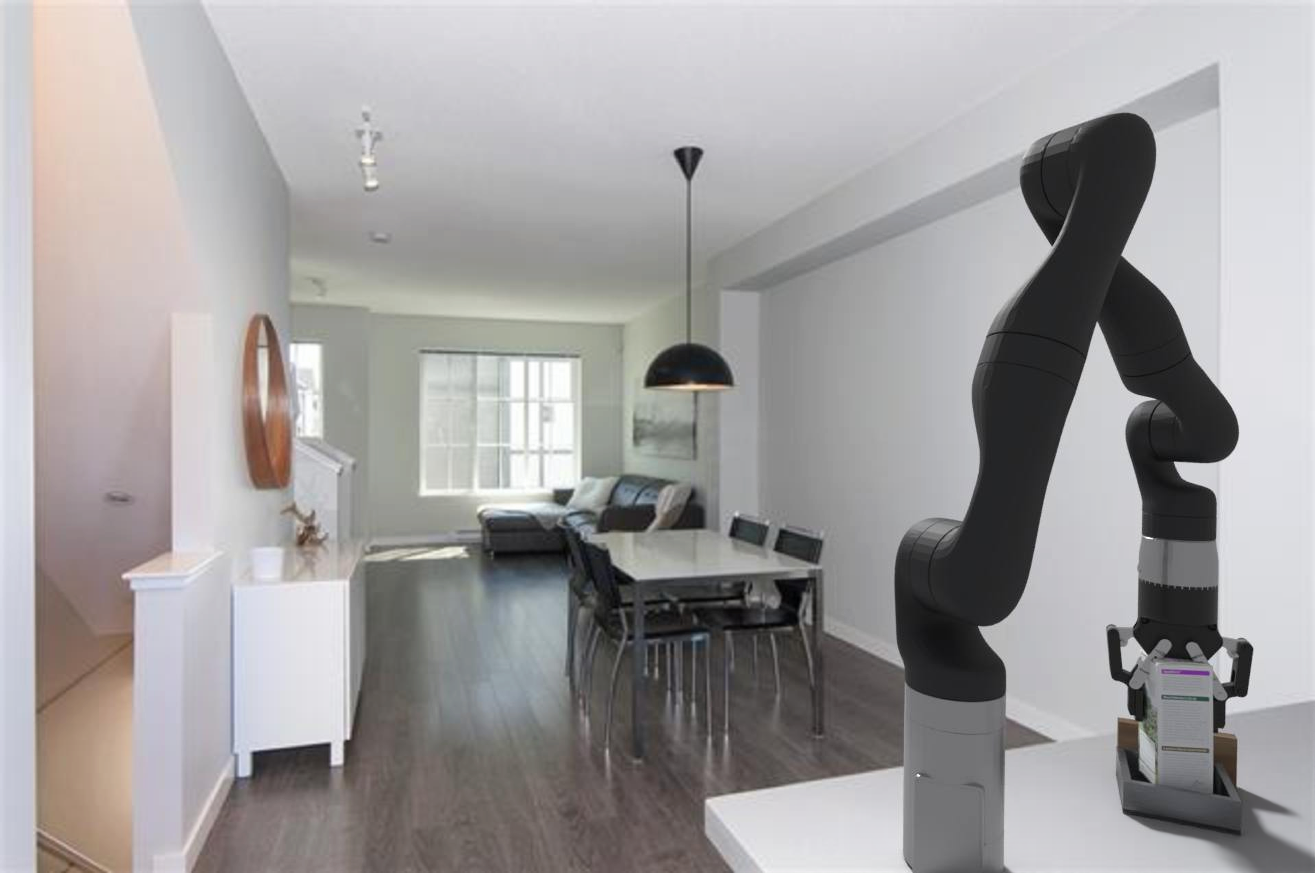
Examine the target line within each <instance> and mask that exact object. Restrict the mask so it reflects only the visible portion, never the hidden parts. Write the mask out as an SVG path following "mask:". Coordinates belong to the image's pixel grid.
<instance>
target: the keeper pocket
mask: <svg viewBox="0 0 1315 873" xmlns="http://www.w3.org/2000/svg"><path fill="white" fill-rule="evenodd" d="M1115 749H1116V750H1115V752H1116V753H1115V756H1116V757H1115V758H1116V759H1115V776H1116V777H1115V778H1116V782H1117V787H1118V788H1117V789H1118V793H1119V798H1120V804H1121V810H1122V813H1123V814H1128V815H1132V816H1137V817H1143V818H1149V819H1154V820H1158V821H1164V822H1168V823H1175V824H1179V825H1185V826H1190V827H1195V828H1199V829H1206V830H1211V831H1216V832H1221V833H1226V834H1231V835H1236V836H1242V801H1241V799H1240V796H1239V795H1238V792H1237V789H1236V790H1235V788H1234V786H1233V784H1232V782H1231V780H1230V778H1229V776H1228V774H1227V772H1226V770H1225V768H1224V766H1223V764H1222V763H1220V762H1213V794H1209V793H1203V792H1198V791H1192V790H1186V789H1181V788H1175V787H1169V786H1164V785H1158V784H1152V783H1150V782H1149V781H1148V780H1147V779H1146V777H1145V776H1144V775H1143V774H1142V773H1141V772H1140V771H1139V749H1133V748H1127V747H1121V746H1117V745H1116V747H1115Z"/></svg>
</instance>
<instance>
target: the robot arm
mask: <svg viewBox="0 0 1315 873" xmlns="http://www.w3.org/2000/svg"><path fill="white" fill-rule="evenodd" d="M1156 162H1157V144H1156V139H1155V135H1154V132H1153V130H1152V128H1151V126H1150V124H1149V123H1148V122H1147V120H1146V119H1144V117H1141V116H1140V115H1139V114H1136V113H1131V112H1117V113H1111V114H1106V115H1103V116H1100V117H1099V116H1098V117H1096V118H1093V119H1090V120H1087V121H1083V122H1081V123H1078V124H1075V125H1073V126H1069V127H1066V128H1064V129H1061V130H1057V131H1055V132H1052V133H1050V134H1047V135H1045V136H1042V137H1040V138H1039V139H1037V140H1035V141H1034V142H1032V144H1031V145H1030V146H1029V147H1028V148H1027V149H1026V151H1025V153H1024V154H1023V158H1022V159H1021V163H1020V166H1019V186H1020V189H1021V190H1020V191H1021V193H1022V196H1023V199H1024V201H1025V204H1026V206H1027V208H1028V210H1029V212H1030V214H1031V216H1032V217H1033V219H1034V220H1035V223H1036V224H1037V226H1038V227H1039V229H1040V230H1041V232H1042V233H1043V235H1044V236H1045V238H1046V240H1047V241H1048V243H1049V244H1050V246H1051V248H1050V249H1049V250H1048V252H1047V254H1046V255H1045V256H1044V257H1043V258H1042V260H1040V261H1039V264H1038V265H1037V266H1035V268H1034V269H1033V270H1032V272H1031V273H1030V274H1029V275H1028V276H1027V277H1026V278H1025V280H1023V282H1022V283H1021V284H1020V285H1019V286H1018V287H1017V289H1016V290H1015V291H1014V292H1013V293H1012V294H1011V296H1010V297H1009V298H1008V299H1007V300H1006V302H1005V303H1004V304H1003V306H1002V307H1001V308H1000V310H999V311H998V312H997V314H996V315H995V317H994V319H993V321H992V323H991V324H990V327H989V329H988V331H987V334H986V336H985V340H984V343H983V346H982V348H981V352H980V355H979V358H978V361H977V364H976V368H975V371H974V374H973V378H972V384H971V406H972V413H973V419H974V426H975V429H976V430H975V431H976V437H977V442H978V448H979V466H978V473H977V478H976V481H975V486H974V489H973V492H972V495H971V499H970V502H969V506H968V508H967V510H966V513H965V515H964V518H963V520H957V519H953V518H945V517H929V518H925V519H922V520H919V521H918V522H916V523H915V524H913V525H911V527H910V528H909V529H908V530H907V531H906V532H905V534H904V535H903V537H902V538H901V541H900V543H899V545H898V548H897V552H896V556H895V563H894V577H893V579H894V581H893V582H894V585H893V586H894V608H895V609H894V612H895V613H894V615H895V617H894V618H895V634H896V635H895V636H896V645H897V649H898V652H899V655H900V658H901V660H902V663H903V666H904V709H903V710H904V712H903V786H902V787H903V789H902V790H903V792H902V793H903V796H902V798H903V800H902V802H903V803H902V805H903V806H902V807H903V808H902V855H903V858H904V859H905V862H907V864H908V865H909V866H910V867H911V868H912V869H911V872H912V873H1004V869H1005V868H1004V867H1005V865H1004V864H1005V862H1004V861H1005V858H1004V857H1005V792H1006V791H1005V789H1006V788H1005V786H1006V784H1005V782H1006V776H1005V775H1006V724H1007V719H1006V718H1007V715H1006V714H1007V670H1006V665H1005V662H1004V661H1003V660H1002V658H1001V657H1000V656H999V655H998V654H997V653H996V651H994V650H993V648H992V647H991V646H990V644H988V642H987V641H986V639H985V638H984V636H983V634H982V632H981V630H980V627H981V628H982V627H985V628H986V627H992V626H995V625H997V624H999V623H1002V621H1004V620H1005V619H1006V618H1008V617H1009V616H1010V615H1011V614H1012V613H1013V611H1014V610H1015V609H1016V608H1017V606H1018V605H1019V602H1020V601H1021V598H1022V597H1023V594H1024V593H1025V589H1026V588H1027V583H1028V580H1029V576H1030V572H1031V569H1032V563H1033V559H1034V554H1035V550H1036V549H1035V548H1036V543H1037V539H1038V535H1039V534H1038V533H1039V529H1040V522H1041V517H1042V512H1043V508H1044V501H1045V498H1046V494H1047V489H1048V485H1049V481H1050V477H1051V474H1052V471H1053V466H1054V464H1055V460H1056V456H1057V453H1058V449H1059V445H1060V442H1061V438H1062V435H1063V431H1064V428H1065V425H1066V421H1067V419H1068V416H1069V412H1070V409H1071V407H1072V404H1073V401H1074V398H1075V396H1076V393H1077V390H1078V387H1079V383H1080V380H1081V377H1082V374H1083V372H1084V368H1085V364H1086V361H1087V359H1088V354H1089V350H1090V346H1091V343H1092V339H1093V335H1094V332H1095V329H1096V327H1097V324H1098V326H1099V328H1100V331H1101V333H1102V335H1103V338H1104V340H1105V342H1106V345H1107V349H1108V350H1109V353H1110V356H1111V358H1112V361H1113V363H1114V366H1115V368H1116V370H1117V373H1118V376H1119V378H1120V380H1121V383H1122V384H1123V386H1124V387H1125V389H1126V390H1127V391H1129V392H1130V393H1131V394H1133V395H1137V396H1141V397H1145V398H1146V397H1147V398H1150V399H1152V400H1146V401H1143V402H1140V403H1139V404H1138V405H1137V406H1135V407H1134V408H1133V410H1132V411H1131V412H1130V414H1129V416H1128V418H1127V421H1126V425H1125V432H1124V435H1125V443H1126V446H1127V448H1126V449H1127V451H1128V455H1129V458H1130V462H1131V464H1132V465H1131V466H1132V467H1133V472H1134V474H1135V479H1136V481H1137V482H1136V483H1137V486H1138V491H1139V492H1140V497H1141V540H1140V544H1139V550H1138V563H1137V566H1136V567H1137V573H1138V576H1137V577H1138V578H1137V580H1138V581H1137V582H1138V583H1137V586H1138V587H1137V618H1136V621H1135V623H1134V625H1133V626H1132V627H1131V626H1129V627H1127V626H1125V627H1124V626H1123V627H1121V626H1117V625H1115V624H1113V623H1111V624H1108V625H1107V626H1106V628H1105V631H1106V641H1107V642H1106V643H1107V653H1108V663H1109V664H1108V666H1109V671H1110V672H1109V673H1110V677H1111V679H1112V680H1113V681H1116V682H1120V683H1122V684H1124V685H1126V687H1127V697H1126V698H1127V699H1126V702H1127V703H1126V705H1127V706H1126V708H1127V710H1128V713H1129V715H1130V716H1133V719H1134V720H1135V721H1138V722H1142V721H1143V689H1142V685H1143V683H1144V682H1145V680H1146V679H1147V678H1148V675H1149V674H1150V661H1153V660H1155V659H1162V658H1178V659H1187V660H1193V661H1194V662H1198V663H1200V662H1202V663H1203V664H1208V665H1211V664H1210V663H1209V661H1210V660H1211V659H1212V658H1213V656H1215V654H1217V653H1218V651H1220V649H1222V648H1224V649H1225V651H1226V654H1227V655H1228V657H1229V658H1230V659H1232V664H1231V672H1230V678H1229V679H1230V680H1229V681H1228V682H1223V683H1222V682H1221V681H1220V680H1219V677H1218V675H1217V674H1216V673H1215V670H1213V733H1218V732H1219V729H1222V730H1223V729H1224V728H1225V726H1226V712H1227V711H1226V709H1227V708H1226V706H1227V705H1226V704H1227V701H1228V700H1229V699H1231V698H1236V697H1238V698H1245V697H1247V696H1248V692H1249V685H1250V677H1251V671H1252V664H1253V663H1252V662H1253V656H1254V646H1253V645H1252V643H1250V641H1248V639H1246V638H1245V637H1239V638H1237V639H1236V638H1233V637H1231V638H1230V637H1228V636H1227V637H1225V636H1222V635H1221V633H1220V630H1219V628H1218V620H1219V576H1220V575H1219V574H1220V573H1219V569H1220V568H1219V564H1220V563H1219V554H1218V547H1217V532H1218V531H1217V526H1218V525H1217V523H1218V522H1217V521H1218V515H1217V514H1218V513H1217V512H1218V508H1217V507H1218V503H1217V500H1218V499H1217V497H1216V494H1215V492H1214V491H1213V490H1212V489H1211V488H1209V487H1207V486H1204V485H1200V484H1197V483H1193V482H1190V481H1187V480H1186V479H1183V477H1182V476H1181V475H1180V473H1179V471H1178V469H1177V467H1176V464H1175V463H1187V464H1188V463H1189V464H1191V463H1192V464H1213V463H1218V462H1222V461H1224V460H1225V459H1227V458H1229V457H1230V455H1232V453H1233V452H1234V451H1235V449H1236V447H1237V444H1238V442H1239V437H1240V426H1239V422H1238V418H1237V415H1236V413H1235V411H1234V409H1233V407H1232V406H1231V404H1230V402H1229V401H1228V400H1227V398H1226V397H1225V395H1224V394H1223V393H1222V391H1221V390H1219V388H1218V387H1217V386H1216V384H1215V383H1214V382H1213V380H1212V379H1211V378H1210V377H1209V376H1208V374H1207V373H1206V371H1205V370H1204V369H1203V368H1202V367H1201V366H1200V365H1199V363H1198V362H1197V361H1196V359H1195V358H1194V356H1193V352H1192V350H1191V348H1190V344H1189V341H1188V339H1187V336H1186V333H1185V331H1184V329H1183V326H1182V322H1181V319H1180V317H1179V315H1178V313H1177V312H1176V310H1175V308H1174V306H1173V305H1172V303H1171V301H1170V300H1169V299H1168V297H1167V296H1166V295H1165V293H1163V292H1162V290H1160V288H1159V287H1158V286H1156V285H1155V283H1154V282H1152V281H1151V280H1150V279H1149V278H1147V276H1145V274H1143V273H1142V272H1141V271H1139V269H1137V267H1135V266H1133V264H1131V262H1129V261H1128V260H1127V259H1126V258H1125V257H1124V256H1123V252H1124V250H1125V247H1126V246H1127V243H1128V241H1129V238H1130V237H1131V235H1132V233H1133V230H1134V228H1135V225H1136V223H1137V220H1138V218H1139V216H1140V214H1141V212H1142V209H1143V207H1144V206H1145V203H1146V199H1147V198H1148V195H1149V192H1150V190H1151V186H1152V183H1153V179H1154V174H1155V170H1156V166H1157V164H1156ZM1132 638H1134V639H1135V641H1136V642H1137V643H1138V645H1139V646H1140V648H1142V649H1143V650H1144V652H1146V654H1147V655H1148V656H1147V657H1146V659H1145V660H1144V661H1143V659H1142V657H1139V656H1138V658H1137V659H1136V662H1135V664H1134V666H1133V667H1132V669H1131V670H1130V671H1129V670H1126V669H1124V668H1123V660H1122V659H1123V658H1122V649H1121V648H1124V647H1127V645H1128V644H1129V639H1132Z"/></svg>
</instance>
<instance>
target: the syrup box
mask: <svg viewBox="0 0 1315 873" xmlns="http://www.w3.org/2000/svg"><path fill="white" fill-rule="evenodd" d="M1147 656H1148V655H1147V654H1146V652H1144V650H1143V649H1141V648H1140V649H1138V658H1139V657H1142V659H1143V661H1144V660H1145V659H1146V657H1147ZM1213 671H1214V667H1213V665H1211V664H1210V665H1208V664H1203V663H1202V662H1200V663H1198V662H1194V661H1193V660H1187V659H1178V658H1162V659H1155V660H1153V661H1150V674H1149V675H1148V678H1147V679H1146V680H1145V682H1144V683H1143V685H1142V689H1143V721H1142V722H1139V771H1140V772H1141V773H1142V774H1143V775H1144V776H1145V777H1146V779H1147V780H1148V781H1149V782H1150V783H1152V784H1158V785H1164V786H1169V787H1175V788H1181V789H1186V790H1192V791H1198V792H1203V793H1209V794H1213Z"/></svg>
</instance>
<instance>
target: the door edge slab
mask: <svg viewBox="0 0 1315 873" xmlns="http://www.w3.org/2000/svg"><path fill="white" fill-rule="evenodd" d="M1116 729H1117V730H1116V732H1117V733H1116V734H1117V736H1116V739H1117V740H1116V741H1117V742H1116V746H1121V747H1127V748H1133V749H1139V722H1138V721H1135V719H1134V718H1133V719H1132V718H1126V717H1119V716H1117V728H1116ZM1213 762H1220V763H1222V764H1223V766H1224V768H1225V770H1226V772H1227V774H1228V776H1229V778H1230V780H1231V782H1232V784H1233V786H1234V788H1235V790H1236V791H1237V785H1238V784H1237V783H1238V782H1237V779H1238V778H1237V776H1238V738H1237V736H1236V734H1235V733H1226V732H1220V731H1218V733H1213Z"/></svg>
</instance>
